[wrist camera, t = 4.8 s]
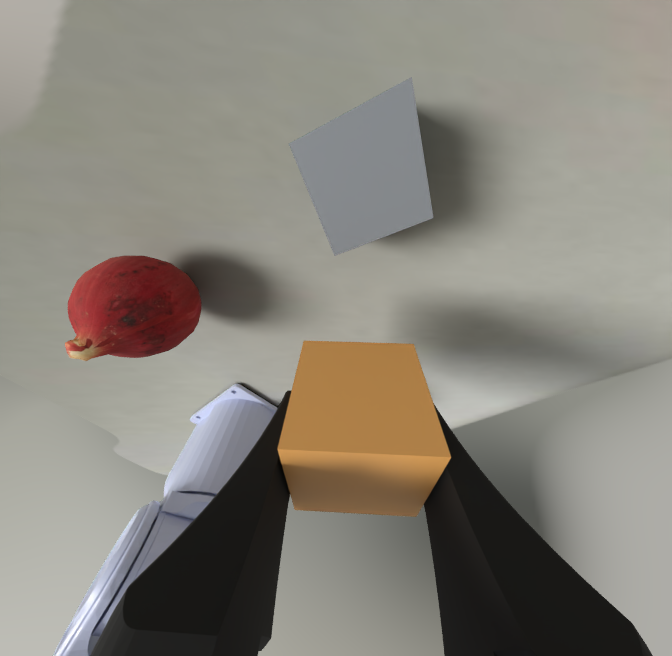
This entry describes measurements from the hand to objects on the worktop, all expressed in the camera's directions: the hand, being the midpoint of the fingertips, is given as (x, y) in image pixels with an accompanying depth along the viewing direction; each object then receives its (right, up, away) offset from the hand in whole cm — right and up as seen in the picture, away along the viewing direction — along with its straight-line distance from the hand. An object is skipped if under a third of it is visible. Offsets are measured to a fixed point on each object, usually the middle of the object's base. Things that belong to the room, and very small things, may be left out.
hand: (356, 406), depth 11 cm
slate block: (0, +12, +2) cm, 12 cm away
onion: (-12, +7, +6) cm, 16 cm away
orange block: (0, +1, +1) cm, 2 cm away
